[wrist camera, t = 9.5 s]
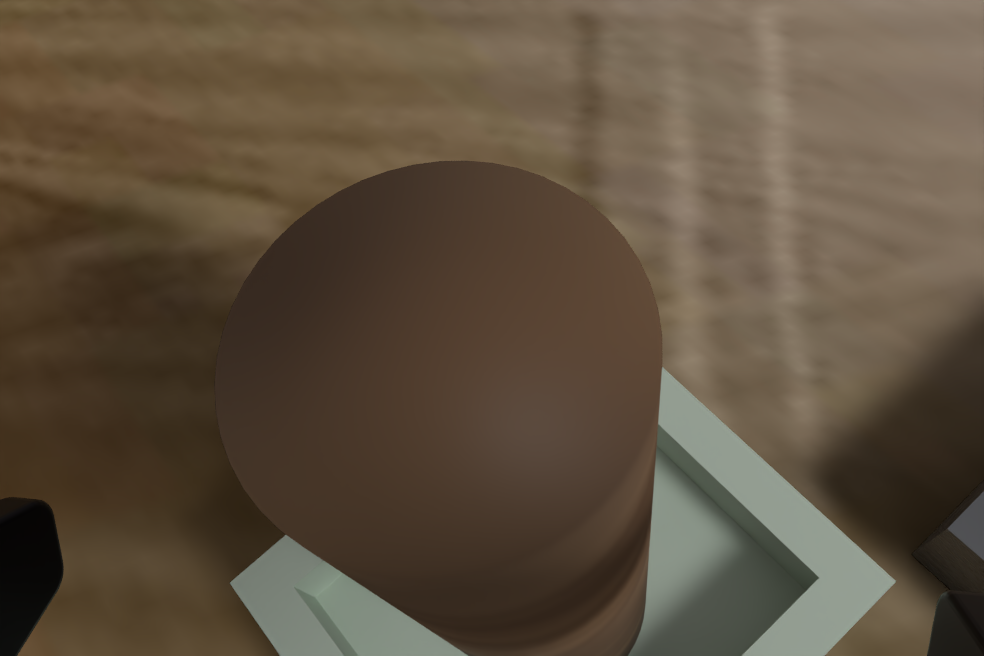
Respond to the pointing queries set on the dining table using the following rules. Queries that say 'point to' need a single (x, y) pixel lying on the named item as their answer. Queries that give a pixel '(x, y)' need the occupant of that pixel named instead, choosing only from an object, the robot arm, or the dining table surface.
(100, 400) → the dining table surface
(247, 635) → the dining table surface
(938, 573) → the socket
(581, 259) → the key peg
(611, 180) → the dining table surface
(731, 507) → the tray
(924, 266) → the dining table surface
